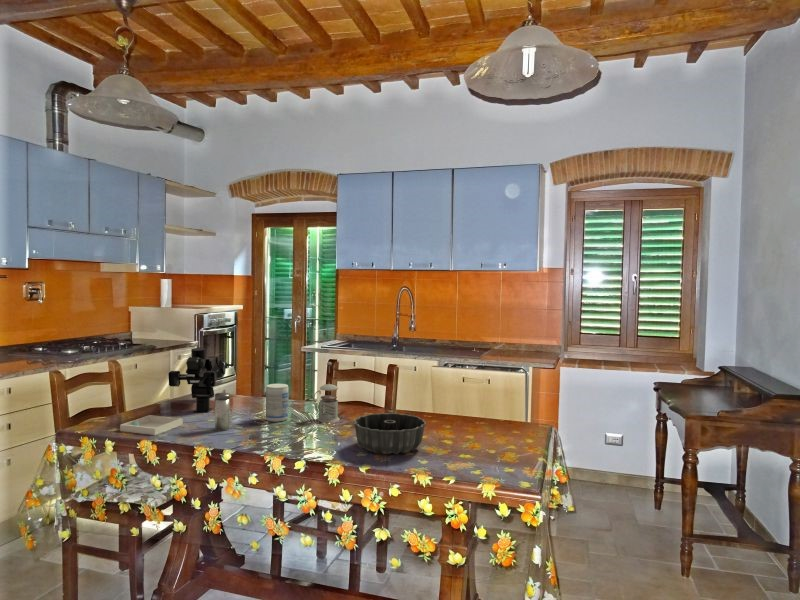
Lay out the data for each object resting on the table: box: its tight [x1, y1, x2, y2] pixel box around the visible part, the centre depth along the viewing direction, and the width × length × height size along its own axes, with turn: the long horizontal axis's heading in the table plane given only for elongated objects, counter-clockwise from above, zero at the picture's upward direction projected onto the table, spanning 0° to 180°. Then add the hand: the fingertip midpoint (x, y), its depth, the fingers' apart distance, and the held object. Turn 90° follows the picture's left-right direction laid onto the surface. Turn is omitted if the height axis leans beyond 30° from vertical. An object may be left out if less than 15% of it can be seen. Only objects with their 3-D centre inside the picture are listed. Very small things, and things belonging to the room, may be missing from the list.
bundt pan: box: [353, 412, 427, 455], centre depth 203 cm, size 26×26×10 cm
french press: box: [312, 361, 341, 423], centre depth 241 cm, size 10×12×25 cm
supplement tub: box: [265, 383, 289, 423], centre depth 239 cm, size 10×10×15 cm
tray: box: [119, 414, 184, 436], centre depth 220 cm, size 16×16×3 cm
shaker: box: [214, 392, 231, 432], centre depth 222 cm, size 6×6×14 cm
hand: (186, 384), depth 225 cm, fingers open, 9 cm apart
